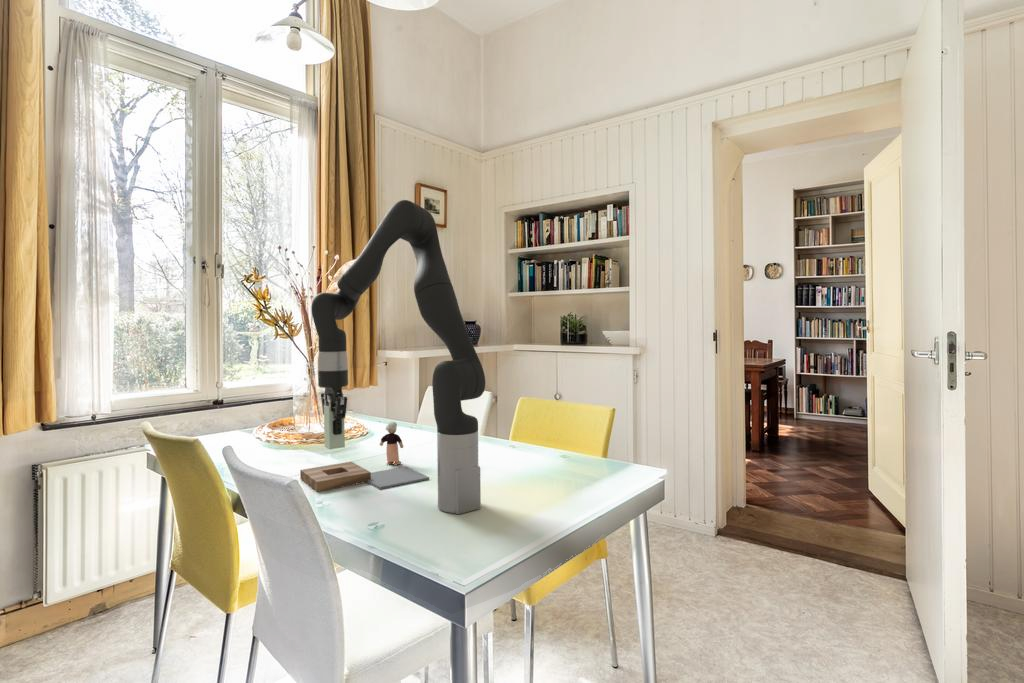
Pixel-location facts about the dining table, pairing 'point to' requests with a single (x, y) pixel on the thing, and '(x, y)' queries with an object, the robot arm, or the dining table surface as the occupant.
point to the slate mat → (395, 477)
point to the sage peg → (329, 437)
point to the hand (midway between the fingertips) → (334, 432)
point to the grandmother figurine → (392, 443)
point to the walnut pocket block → (334, 476)
